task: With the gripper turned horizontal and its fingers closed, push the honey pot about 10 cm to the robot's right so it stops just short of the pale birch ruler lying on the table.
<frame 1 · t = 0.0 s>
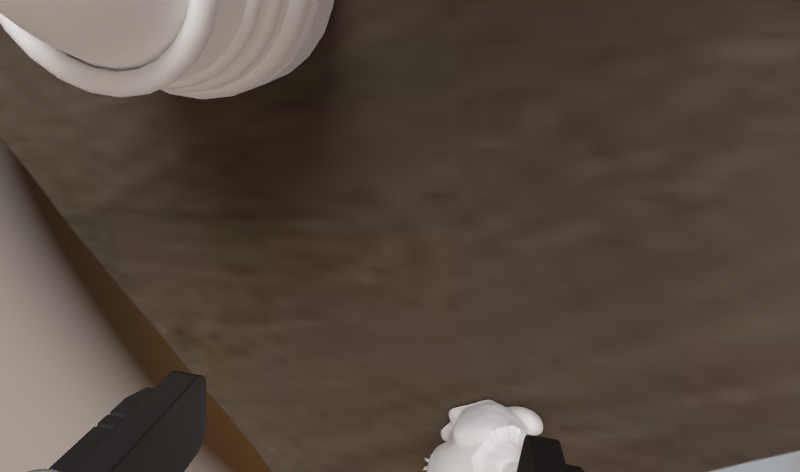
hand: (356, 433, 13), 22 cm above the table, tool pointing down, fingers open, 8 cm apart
white lumpy figure: (465, 420, 41), on the table
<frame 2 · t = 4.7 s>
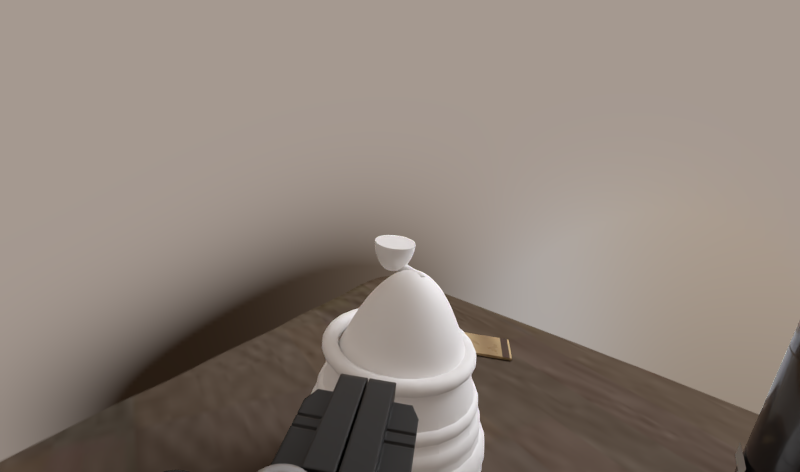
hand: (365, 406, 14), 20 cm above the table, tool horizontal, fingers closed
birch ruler: (429, 337, 57), on the table
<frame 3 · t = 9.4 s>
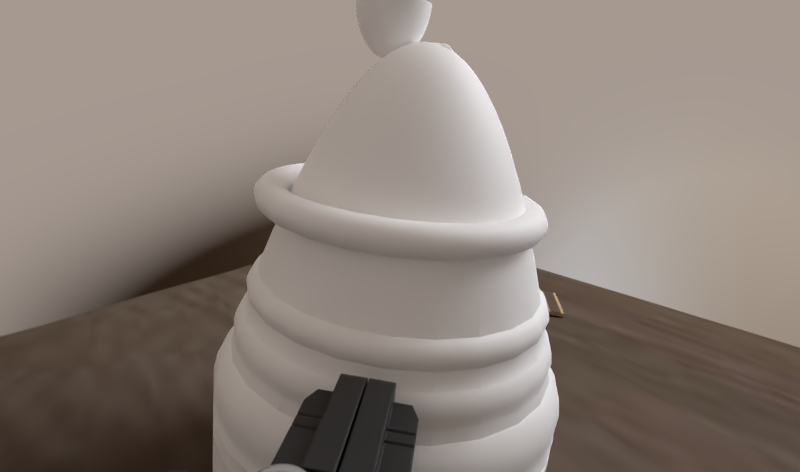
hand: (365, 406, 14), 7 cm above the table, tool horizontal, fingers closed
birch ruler: (445, 288, 41), on the table
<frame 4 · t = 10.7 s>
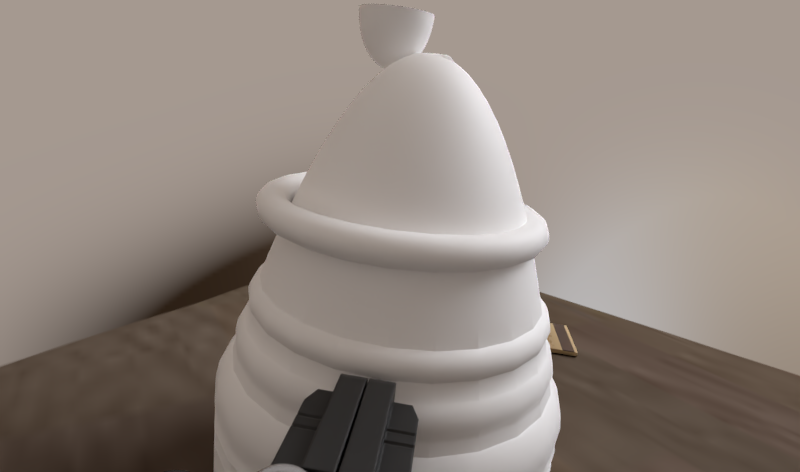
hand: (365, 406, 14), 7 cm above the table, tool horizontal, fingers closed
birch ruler: (441, 321, 36), on the table
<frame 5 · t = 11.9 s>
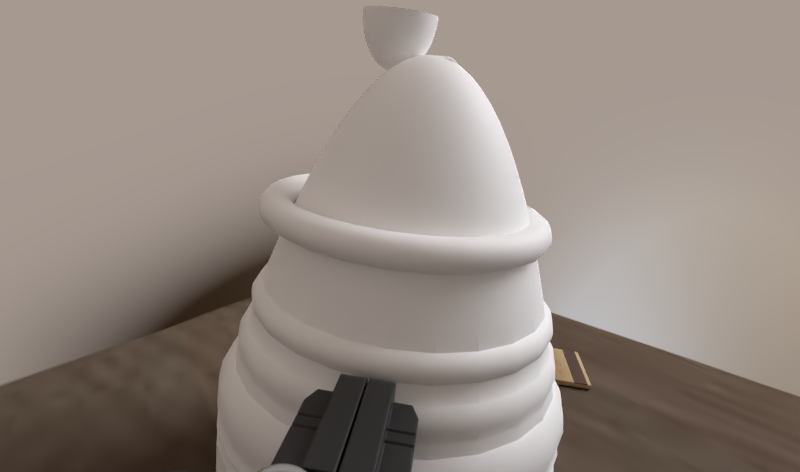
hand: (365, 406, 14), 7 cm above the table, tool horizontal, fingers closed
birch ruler: (439, 347, 32), on the table
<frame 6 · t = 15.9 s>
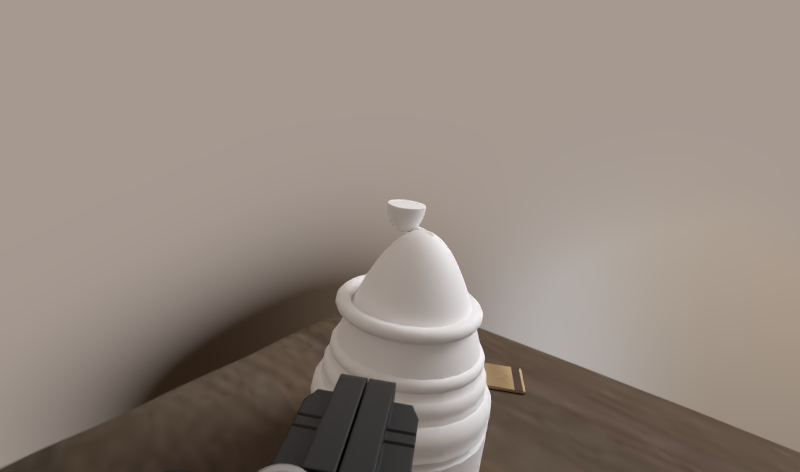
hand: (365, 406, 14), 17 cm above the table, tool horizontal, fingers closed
honey pot: (393, 447, 38), on the table
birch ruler: (428, 366, 49), on the table
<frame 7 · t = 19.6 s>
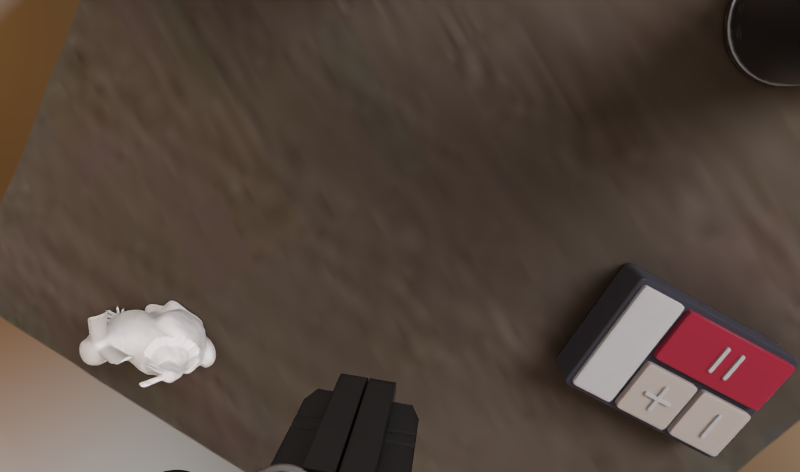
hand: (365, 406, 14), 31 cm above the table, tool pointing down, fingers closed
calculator: (662, 351, 45), on the table
white lumpy figure: (171, 315, 49), on the table
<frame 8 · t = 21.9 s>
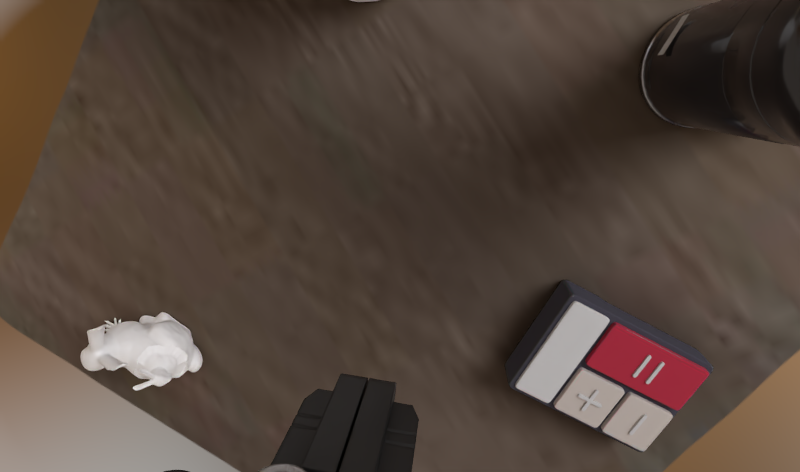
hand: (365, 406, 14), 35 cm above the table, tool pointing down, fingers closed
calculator: (598, 357, 50), on the table
white lumpy figure: (163, 325, 55), on the table
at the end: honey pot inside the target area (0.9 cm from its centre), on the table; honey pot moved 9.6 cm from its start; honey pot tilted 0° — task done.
